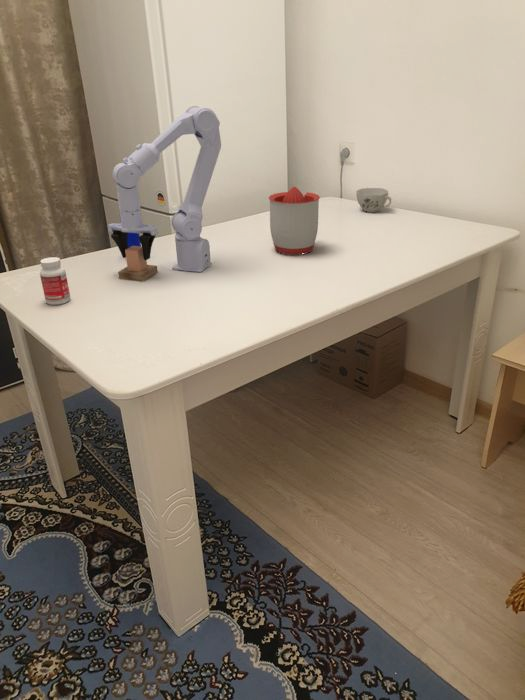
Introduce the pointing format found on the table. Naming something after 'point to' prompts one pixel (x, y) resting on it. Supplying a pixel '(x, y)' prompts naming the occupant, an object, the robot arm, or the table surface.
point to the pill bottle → (54, 281)
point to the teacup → (372, 199)
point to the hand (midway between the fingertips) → (136, 257)
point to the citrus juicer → (294, 221)
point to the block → (135, 259)
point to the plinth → (138, 273)
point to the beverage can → (133, 239)
